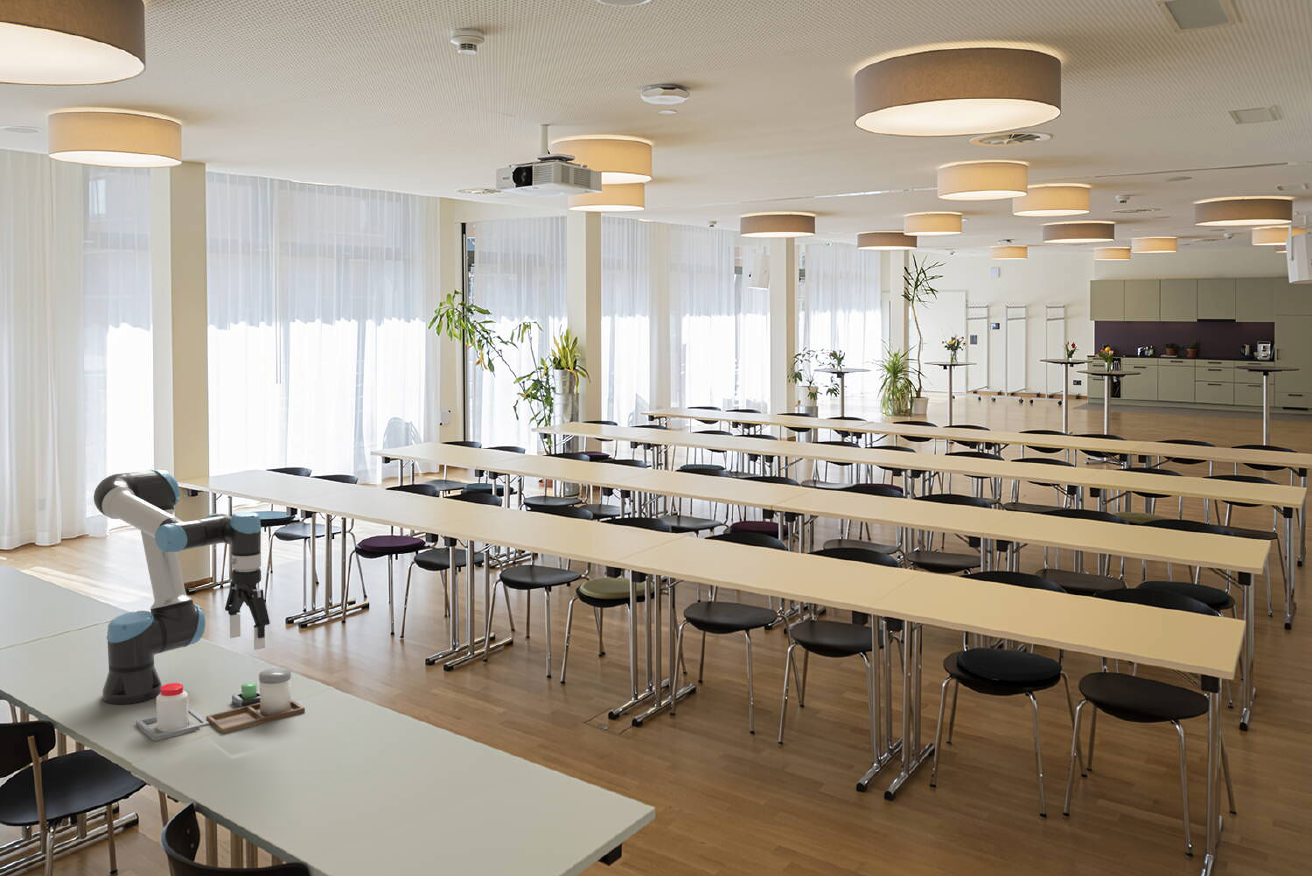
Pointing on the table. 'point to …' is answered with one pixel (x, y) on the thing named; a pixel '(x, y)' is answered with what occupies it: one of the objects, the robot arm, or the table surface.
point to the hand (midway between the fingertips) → (247, 642)
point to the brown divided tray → (247, 717)
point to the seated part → (275, 691)
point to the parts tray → (155, 737)
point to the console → (241, 703)
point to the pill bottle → (172, 708)
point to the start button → (249, 690)
